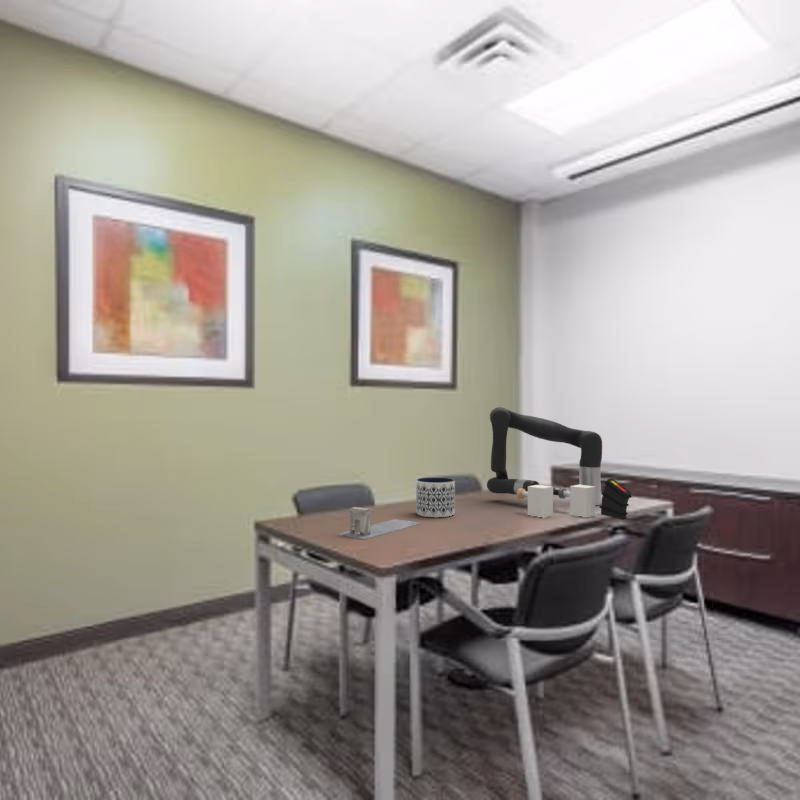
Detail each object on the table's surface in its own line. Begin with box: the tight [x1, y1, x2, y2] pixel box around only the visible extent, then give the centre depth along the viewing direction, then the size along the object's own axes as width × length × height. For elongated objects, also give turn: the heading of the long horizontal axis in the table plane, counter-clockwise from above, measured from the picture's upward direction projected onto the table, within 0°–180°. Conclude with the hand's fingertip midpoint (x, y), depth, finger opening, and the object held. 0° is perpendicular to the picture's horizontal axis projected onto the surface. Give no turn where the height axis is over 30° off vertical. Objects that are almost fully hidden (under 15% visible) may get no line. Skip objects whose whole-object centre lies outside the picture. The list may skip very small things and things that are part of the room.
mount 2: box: [569, 484, 596, 518], centre depth 246 cm, size 7×8×12 cm
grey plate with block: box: [337, 506, 422, 541], centre depth 219 cm, size 12×33×10 cm, turn 143°
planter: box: [415, 476, 456, 519], centre depth 247 cm, size 16×16×14 cm
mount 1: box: [527, 484, 554, 518], centre depth 244 cm, size 7×8×12 cm
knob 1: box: [516, 488, 528, 500], centre depth 249 cm, size 4×8×4 cm, turn 42°
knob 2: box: [557, 487, 570, 500], centre depth 250 cm, size 4×8×4 cm, turn 42°
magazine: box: [599, 478, 632, 519], centre depth 244 cm, size 4×13×15 cm, turn 28°
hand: (560, 492), depth 253 cm, fingers closed
